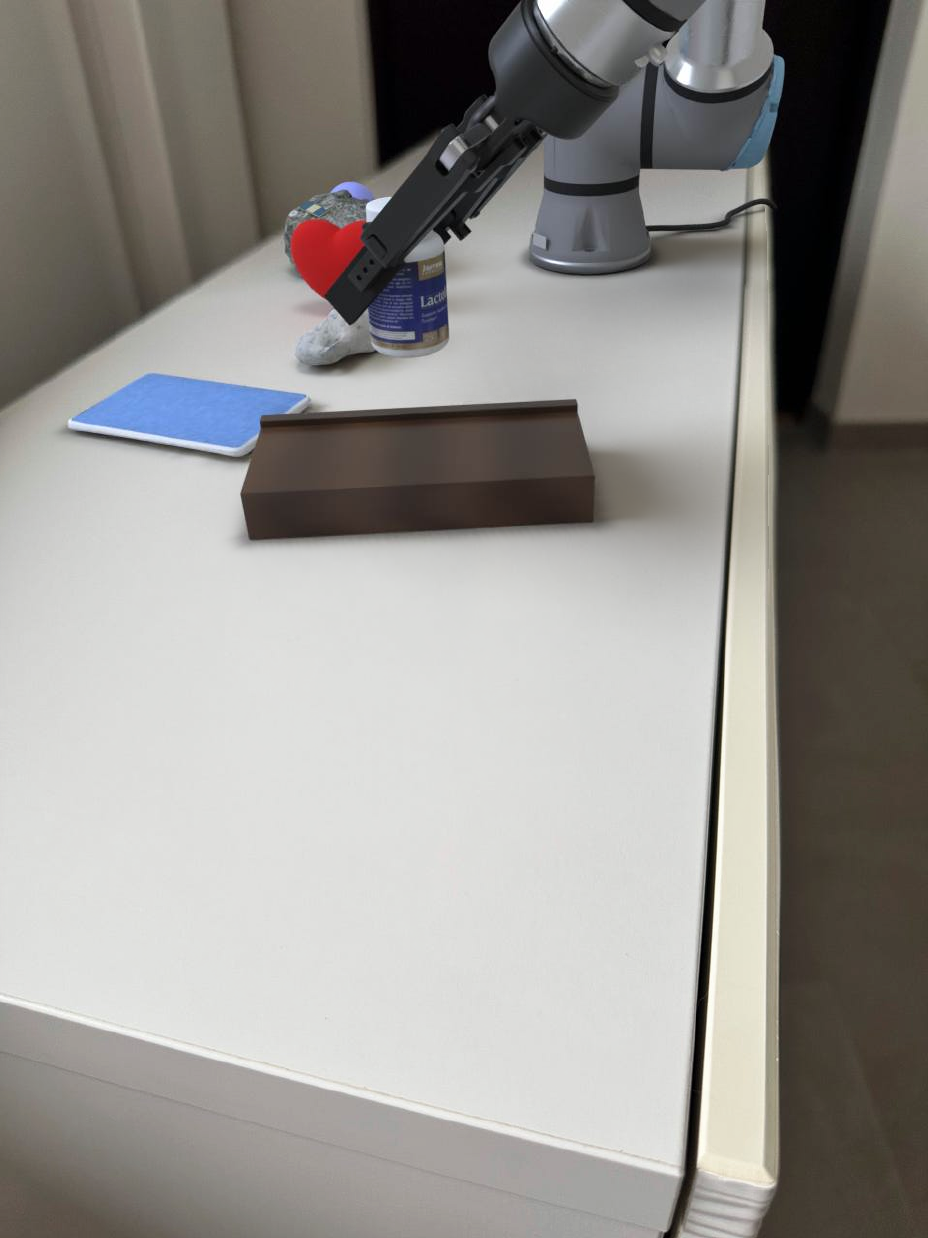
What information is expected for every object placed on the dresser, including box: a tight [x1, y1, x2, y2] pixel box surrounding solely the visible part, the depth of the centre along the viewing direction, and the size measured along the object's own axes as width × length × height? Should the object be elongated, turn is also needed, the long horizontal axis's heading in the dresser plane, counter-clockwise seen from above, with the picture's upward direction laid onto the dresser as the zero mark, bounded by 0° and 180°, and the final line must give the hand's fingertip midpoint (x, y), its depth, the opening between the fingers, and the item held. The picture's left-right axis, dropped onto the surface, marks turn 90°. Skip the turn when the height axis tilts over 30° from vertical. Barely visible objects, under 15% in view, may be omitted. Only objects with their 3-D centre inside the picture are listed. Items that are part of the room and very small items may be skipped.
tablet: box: [67, 372, 312, 458], centre depth 94 cm, size 19×13×1 cm, turn 67°
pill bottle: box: [366, 196, 450, 359], centre depth 71 cm, size 6×6×10 cm
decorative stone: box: [295, 308, 376, 366], centre depth 105 cm, size 13×7×5 cm, turn 148°
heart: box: [291, 219, 367, 302], centre depth 114 cm, size 12×5×10 cm, turn 75°
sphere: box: [330, 181, 376, 200], centre depth 140 cm, size 7×7×7 cm
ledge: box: [239, 398, 596, 540], centre depth 80 cm, size 26×12×5 cm, turn 92°
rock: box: [283, 190, 377, 275], centre depth 127 cm, size 18×14×10 cm
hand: (364, 294), depth 74 cm, fingers closed on pill bottle, 6 cm apart
